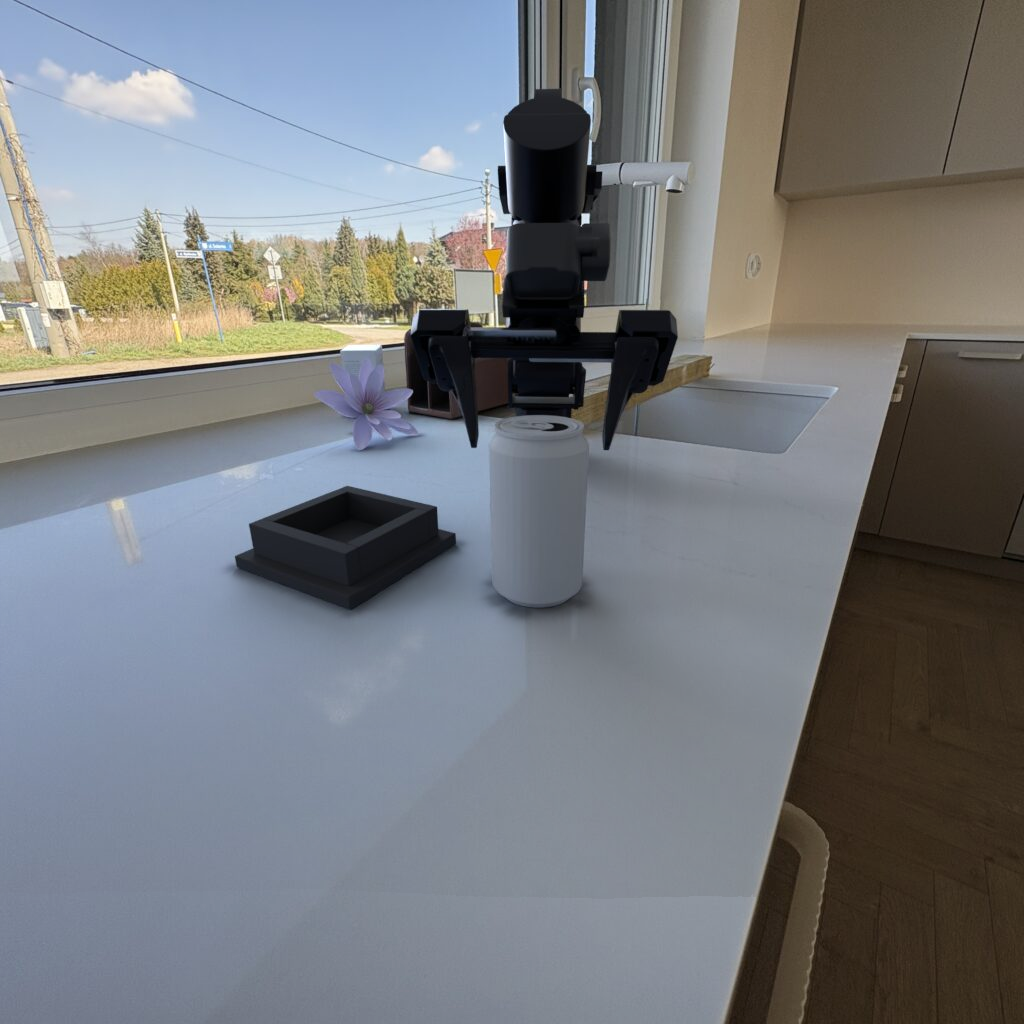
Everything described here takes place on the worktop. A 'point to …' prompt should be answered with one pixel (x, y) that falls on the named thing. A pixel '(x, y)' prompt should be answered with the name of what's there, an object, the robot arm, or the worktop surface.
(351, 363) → the small box
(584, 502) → the beverage can
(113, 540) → the worktop surface
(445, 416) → the letter holder
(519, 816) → the worktop surface
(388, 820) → the worktop surface
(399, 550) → the socket pad
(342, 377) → the water lily
